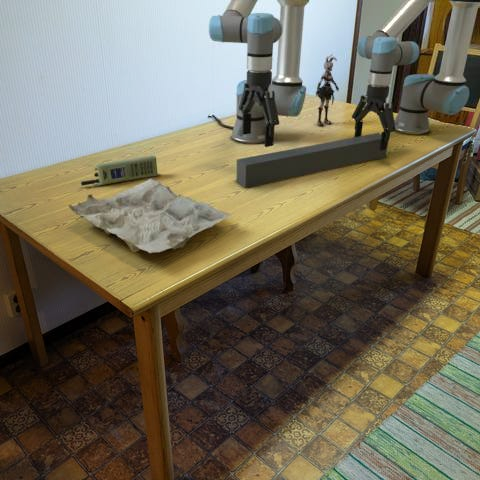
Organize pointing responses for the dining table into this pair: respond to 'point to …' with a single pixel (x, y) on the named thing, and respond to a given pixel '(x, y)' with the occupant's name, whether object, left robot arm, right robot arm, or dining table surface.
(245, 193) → the dining table surface
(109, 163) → the handheld radio
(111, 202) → the grey pulp egg tray
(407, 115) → the right robot arm
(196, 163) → the dining table surface
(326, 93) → the figurine
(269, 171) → the beam
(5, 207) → the dining table surface
